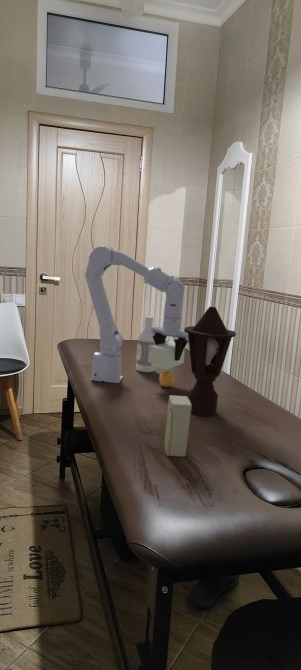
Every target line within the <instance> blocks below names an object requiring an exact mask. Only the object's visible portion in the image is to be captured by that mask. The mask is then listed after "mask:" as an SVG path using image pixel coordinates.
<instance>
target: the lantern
mask: <svg viewBox="0 0 301 670" xmlns="http://www.w3.org/2000/svg"><path fill="white" fill-rule="evenodd" d="M183 332H186V333H188V338H189V342H188V345H189V357H190V366H191V373H192V374H193V375H194V379H195V380H196V381H195V383H194V386H193V388H191V389H190V390H189V391H188V399H189V401H190V403H191V405H192V407H191V415H193V416H197V417H204V418H205V417H213V416H215V415H216V414H217V408H218V407H217V406H218V398H219V397H218V396H219V394H218V392H217V391H216V390H215V387H214V382H215V381H216V379H217V378H218V377H220V375H221V372H222V369H223V366H224V363H225V360H226V356H227V355H228V350H229V348H230V344H231V341H232V339H233V338H235V337H236V336H237V335H236V334H237V333H236V331H235V330H230V329H227V328H226V325H225V323H224V322H223V320H222V318H221V316H220V314H219V311H218V310H217V308H216V306H209V307H208V308H207V310H206V311H205V312H204V314H203V315H202V316H201V318H200V319H199V320H198V322H197V323H196V325H191V326H186V327H184V331H183Z"/></svg>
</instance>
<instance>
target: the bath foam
mask: <svg viewBox="0 0 301 670" xmlns="http://www.w3.org/2000/svg"><path fill="white" fill-rule="evenodd" d="M153 322H154V316H147V315H145V316H144V326H143V328H142V329H141V330H140V331H139V333H138V336H137V346H136V347H137V348H136V358H135V359H136V360H135V370H136V371H137V372H140V373H152V372H154V371H155V366H151V363H152V346H156V344H155V341H154V339H153V335H155V333H154V334H153V333H151V327H153Z"/></svg>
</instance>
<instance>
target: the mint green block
mask: <svg viewBox="0 0 301 670" xmlns="http://www.w3.org/2000/svg"><path fill="white" fill-rule="evenodd" d="M185 351H186V348H184V350H183V352H182V355H181V358H180V360H178V361H176V360H175V341H170V340H169V341H165V343H162V344H159V345H156V346H152V363H151V366H155V367H156V368H158V369H162V370H163V369H164V370H169V369H171V368H174V367H177V366H179V365H182V364H184V362H185ZM155 367H154V368H155Z"/></svg>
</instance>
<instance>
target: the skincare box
mask: <svg viewBox="0 0 301 670" xmlns="http://www.w3.org/2000/svg"><path fill="white" fill-rule="evenodd" d="M191 407H192V405H191V403H190V401H189V396H187V395H172V394H169V395H168V404H167V414H166V423H165V433H164V442H163V445H164V450H165V455H166V456H167V457H181V458H182V457H184V458H185V457H186V454H187V445H188V438H189V431H190V420H191V415H192V414H191Z"/></svg>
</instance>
